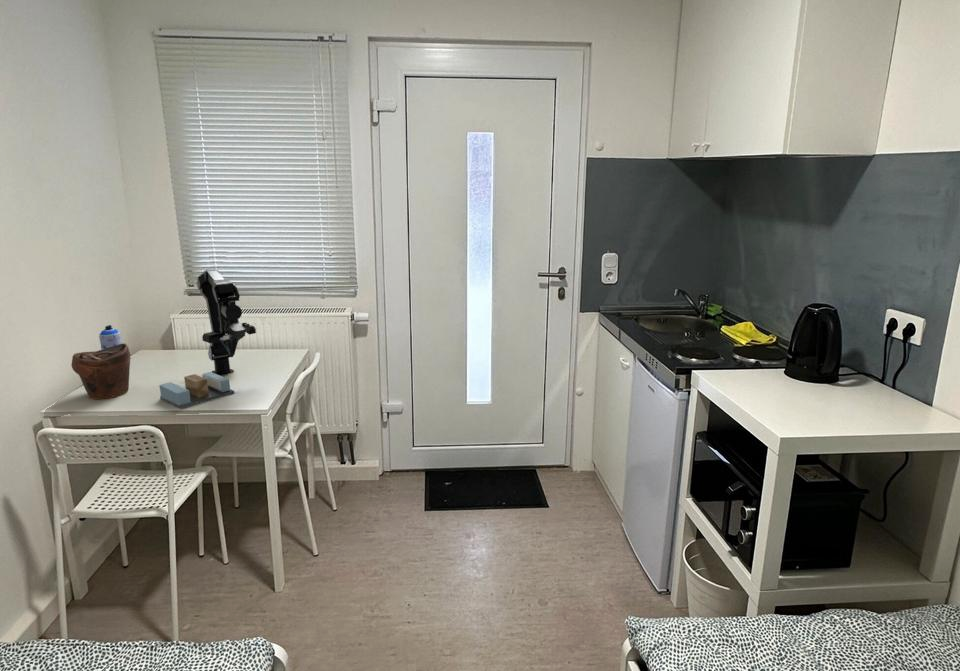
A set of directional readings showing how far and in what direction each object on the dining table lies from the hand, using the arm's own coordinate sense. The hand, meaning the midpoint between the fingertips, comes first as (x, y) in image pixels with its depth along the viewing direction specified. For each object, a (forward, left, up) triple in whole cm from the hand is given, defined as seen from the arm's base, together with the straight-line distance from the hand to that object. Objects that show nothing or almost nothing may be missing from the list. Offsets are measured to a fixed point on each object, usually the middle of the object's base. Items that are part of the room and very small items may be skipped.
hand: (232, 355), depth 238 cm
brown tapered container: (-29, -35, -12) cm, 47 cm away
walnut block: (0, -15, -11) cm, 19 cm away
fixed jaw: (0, -23, -11) cm, 25 cm away
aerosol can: (-53, -23, -12) cm, 59 cm away
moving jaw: (0, -8, -11) cm, 13 cm away
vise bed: (0, -15, -12) cm, 19 cm away
